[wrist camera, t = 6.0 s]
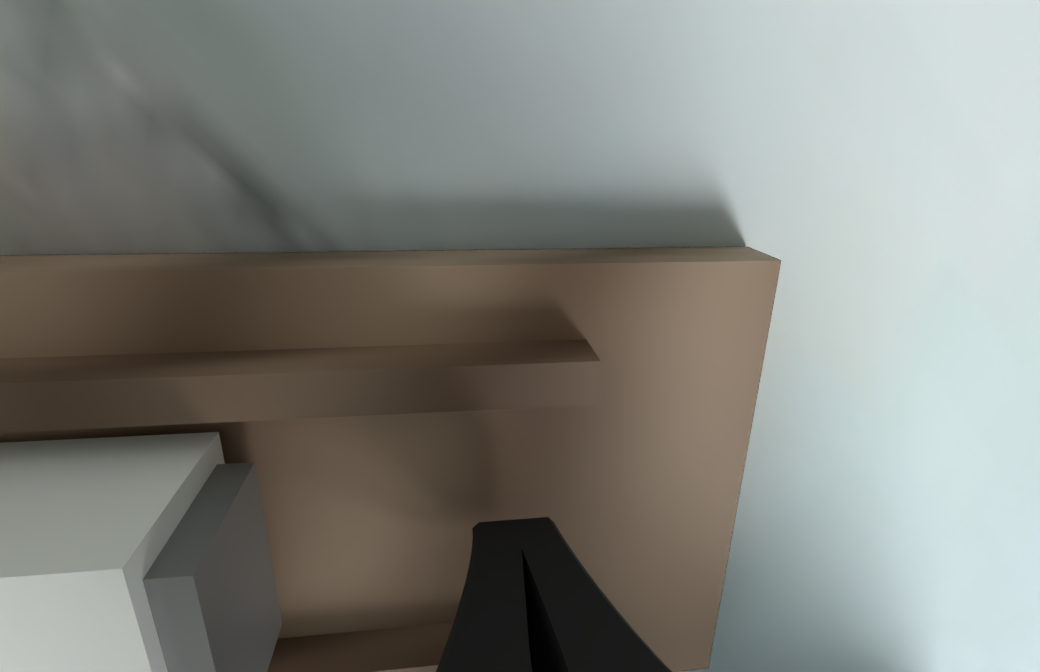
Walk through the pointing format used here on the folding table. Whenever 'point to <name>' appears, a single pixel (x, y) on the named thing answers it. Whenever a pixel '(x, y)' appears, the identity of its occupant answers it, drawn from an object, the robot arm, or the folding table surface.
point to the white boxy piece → (133, 557)
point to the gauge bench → (423, 416)
